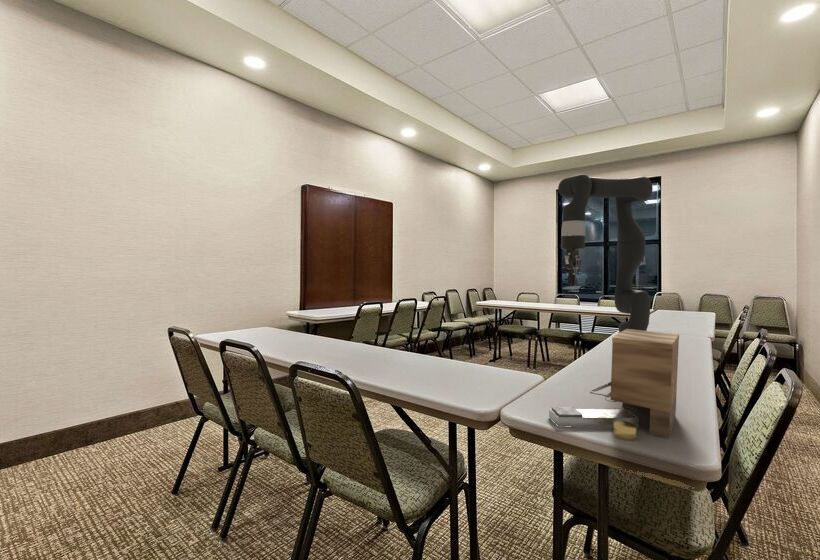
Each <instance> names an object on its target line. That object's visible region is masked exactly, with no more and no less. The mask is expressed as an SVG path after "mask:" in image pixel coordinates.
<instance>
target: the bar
mask: <svg viewBox="0 0 820 560" xmlns="http://www.w3.org/2000/svg"><path fill="white" fill-rule="evenodd" d="M549 417H550V418H551V419H552V420H553V421H554V422H555V423H556V424H557V425H558V426H571V427H570V428H590V429H591V428H597V429H598V428H601V429H602V428H603V429H604V428H607V429H608V428H609V429H610V428H611V429H614V422H615V421H627V422H630V423H633V424H635V425H636V426H637V429H639V417H638V416H636V415H634V414H633V413H631V412H629V411H628V410H627V409H618V408H617V409H611V408H610V409H609V408H608V409H607V408H602V409H600V408H598V409H597V408H575V407H573V406H569V407H568V406H567V407H564V406H552V407H551V408H549V409H548V418H549ZM550 418H549V419H550Z"/></svg>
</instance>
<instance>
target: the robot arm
mask: <svg viewBox="0 0 820 560" xmlns="http://www.w3.org/2000/svg"><path fill="white" fill-rule="evenodd" d="M557 188H558V189H557V191H558V193H559V194H560V196H562V197H563V198H564V199H565V198H566V199H571V201H570V202H569V203H568V204H566V205H564V207H562V208H563V209H562V224H561V232H560V233H561V235H560V236H561V237H560V238H561V239H560V249H562V250H565V251H566V252H565V255H564V258H562V262H563V267H564V272H565V274H566V275H567V286H568V287H575V286H576V284H577V275H578V274H579V272H580V267H581V264H582V258H581V254H580V251H579V250H584V249H585V248H586V208H587V206H588V202H589V200H590V198H591V199H608V198H614V200H615V209H616V218H617V219H616V220H617V224H616V226H617V236H616V237H617V239H616V240H617V241H616V242H617V243H616V248H617V249H616V251H617V252H616V253H617V254H616V255H617V256H616V259H617V261H616V262H617V264H616V265H617V267H616V269H617V270H616V282H615V289H614V290H615V292H614V306H615V308H616V310H617V311H618V312H620V313H622V314H629V315H630V316H629V319H628V320H627V321H623V322H620V323H619V324H618V333H617V334H619V333H620V332H622V331H624V330H625V329H633V330H643V331H648V328H649V325H650V324H649V323H650V315H651V305H652V302H651V297H650V295H649V293H648V291H645V290H639V289H638V290H637V289H633V280H634V276H635V273H636V272H637V270H638V268H640V267H639V266H640V265H641V264H642V262H643V260H644V258H645V255H646V237H645V233H644V232H643V230H642V229H641V227H640V226H639V224H638V223H637V222H636V220H635V218H634V216H633V208H632V203H640V202H643V201H647V200H648V199H649V198H650V197H651V196H652V195H653V194H652V193H653V190H654V189H653V188H654V187H653V183H652V181H651V179H650V178H648V177H647V176H643V175H641V176H635V177H634V176H633V177H629V178H612V177H609V178H608V177H598V176H596V177H595V176H592V177H589V175H587V174H585V173H579V174H576V175H571V176H567V177H565V178H563V179H561V181H560V182H559V184H558V187H557Z"/></svg>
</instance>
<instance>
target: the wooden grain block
mask: <svg viewBox="0 0 820 560" xmlns="http://www.w3.org/2000/svg"><path fill="white" fill-rule="evenodd" d="M611 340H612V342H611V343H612V344H611V345H612V346H611V347H612V349H611V350H612V351H611V375H610V376H611V377H610V382H611V385H610V392H611V396H610V399H609V401H617V403H618V402H619V403H621V404H622V408H625V409H626V408H627V409H631V410H636V411H640V412H645V413H649V435H651V436H655V437H660V438H664V439H667V440H669V439H670V436H671V432H672V430H673V425H674V423H675V419H676V417H677V416H676V413H677V410H676V409H677V390H678V367H679V366H678V364H679V345H680V344H679V343H680V341H679V340H680V334H679V333H671V332H660V331H659V332H658V331H651V330H647V331H643V330H633V329H625V330H624V331H622V332H620V333H619V334H618V333H617V334H615V335H614V336H612V337H611Z"/></svg>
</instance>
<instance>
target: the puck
mask: <svg viewBox="0 0 820 560" xmlns="http://www.w3.org/2000/svg"><path fill="white" fill-rule="evenodd" d="M637 434H638V428H637V426H636V425H635V424H633V423H630V422H627V421H615V422H614V428H613V436H614V437H615V438H617V439H619V440H623V441H627V442H634V441H637V438H638V435H637Z"/></svg>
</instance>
